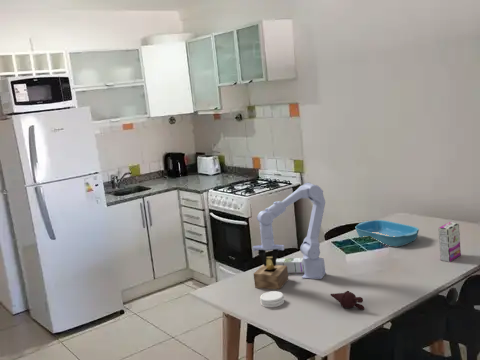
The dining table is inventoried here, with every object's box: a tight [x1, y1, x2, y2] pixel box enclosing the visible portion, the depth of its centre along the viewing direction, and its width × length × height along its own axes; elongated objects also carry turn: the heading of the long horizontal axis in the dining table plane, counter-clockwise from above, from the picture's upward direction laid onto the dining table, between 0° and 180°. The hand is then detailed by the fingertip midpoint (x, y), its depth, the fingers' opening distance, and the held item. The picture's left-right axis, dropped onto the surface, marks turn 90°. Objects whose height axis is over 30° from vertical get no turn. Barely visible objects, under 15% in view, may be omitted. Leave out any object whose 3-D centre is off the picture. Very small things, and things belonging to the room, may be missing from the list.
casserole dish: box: [355, 219, 420, 247], centre depth 285 cm, size 37×22×7 cm, turn 33°
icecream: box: [330, 290, 365, 311], centre depth 206 cm, size 7×7×15 cm
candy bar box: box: [438, 221, 462, 263], centre depth 245 cm, size 11×5×16 cm, turn 131°
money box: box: [253, 264, 289, 290], centre depth 240 cm, size 12×12×7 cm
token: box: [265, 255, 275, 270], centre depth 238 cm, size 4×4×5 cm
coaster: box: [259, 290, 285, 308], centre depth 219 cm, size 10×10×4 cm
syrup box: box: [276, 257, 305, 274], centre depth 253 cm, size 6×6×14 cm
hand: (270, 265), depth 238 cm, fingers closed on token, 4 cm apart
